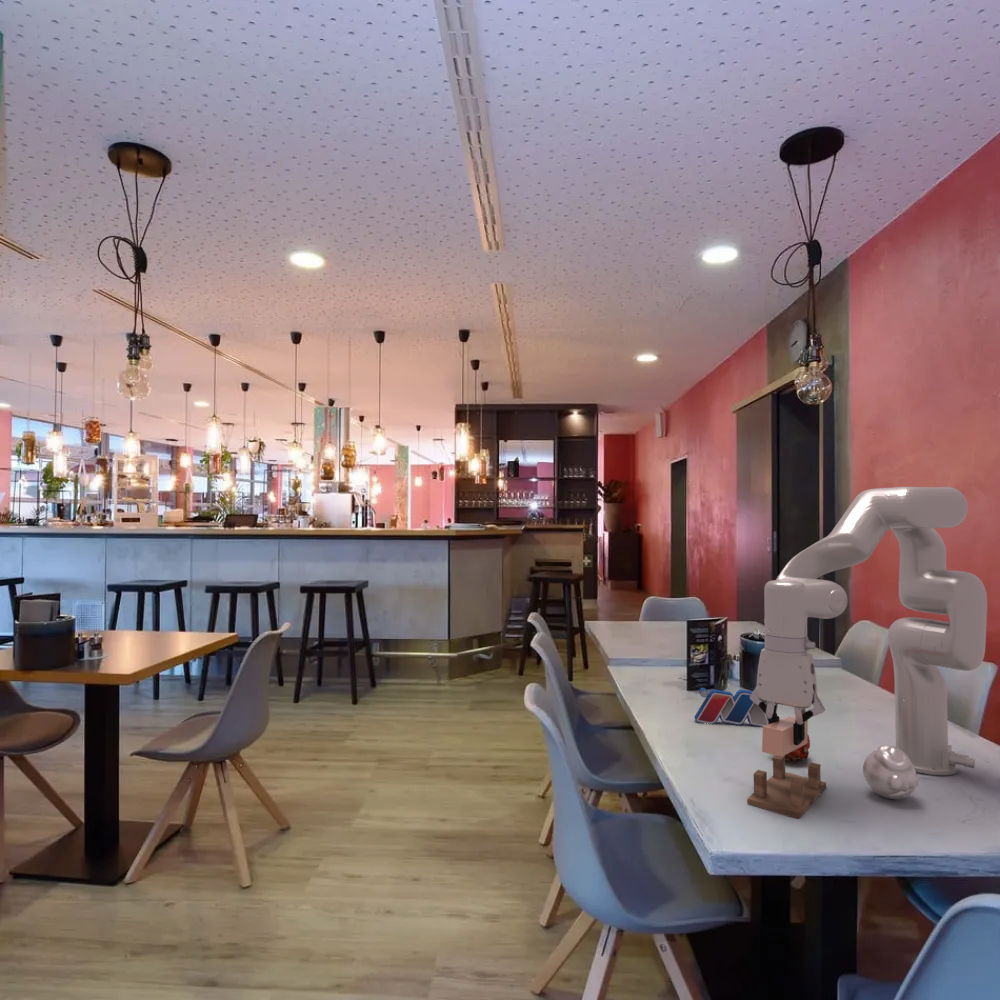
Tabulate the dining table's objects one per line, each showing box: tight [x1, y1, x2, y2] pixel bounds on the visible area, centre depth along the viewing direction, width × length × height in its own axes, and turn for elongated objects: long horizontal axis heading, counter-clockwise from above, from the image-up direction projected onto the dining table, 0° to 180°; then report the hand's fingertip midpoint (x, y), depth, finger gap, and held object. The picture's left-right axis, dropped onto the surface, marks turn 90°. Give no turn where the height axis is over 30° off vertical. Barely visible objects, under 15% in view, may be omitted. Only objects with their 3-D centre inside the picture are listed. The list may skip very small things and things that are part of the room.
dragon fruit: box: [784, 734, 811, 763], centre depth 139 cm, size 8×8×12 cm
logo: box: [694, 687, 768, 728], centre depth 163 cm, size 18×2×10 cm, turn 79°
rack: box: [746, 755, 827, 820], centre depth 120 cm, size 18×9×5 cm, turn 139°
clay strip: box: [761, 716, 809, 757], centre depth 120 cm, size 16×4×4 cm, turn 139°
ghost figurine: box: [862, 744, 920, 800], centre depth 119 cm, size 9×10×10 cm
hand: (786, 739), depth 120 cm, fingers closed on clay strip, 3 cm apart
